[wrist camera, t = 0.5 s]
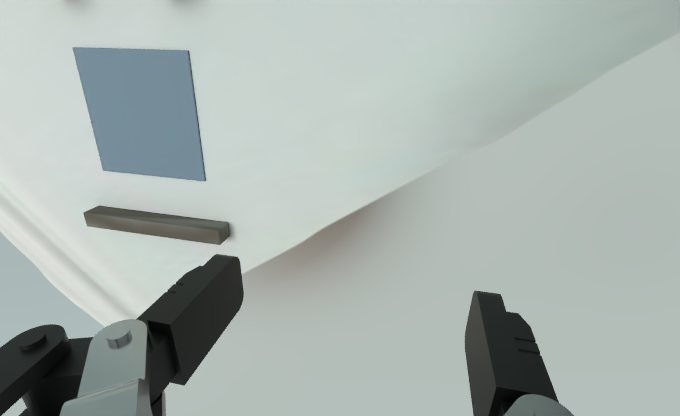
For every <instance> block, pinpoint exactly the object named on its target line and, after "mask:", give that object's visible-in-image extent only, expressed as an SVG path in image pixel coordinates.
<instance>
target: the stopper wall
mask: <svg viewBox="0 0 680 416" xmlns="http://www.w3.org/2000/svg"><path fill="white" fill-rule="evenodd" d="M84 217H85V220H86V224H87V226H90V227H97V228H104V229H111V230H118V231H125V232H132V233H139V234H146V235H153V236H160V237H168V238H175V239H182V240H189V241H196V242H203V243H210V244H217V245H220V244H221V243H222V242H224V241H225V240H226V239H227V238H228V237H229V236H230V235H229V226H228V222H221V221H213V220H205V219H197V218H190V217H182V216H174V215H166V214H158V213H150V212H143V211H135V210H127V209H119V208H111V207H103V206H97V207H95V208H93V209H91V210H89V211H86V212H84Z"/></svg>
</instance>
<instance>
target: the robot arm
mask: <svg viewBox="0 0 680 416" xmlns="http://www.w3.org/2000/svg"><path fill="white" fill-rule="evenodd" d="M243 294H244V293H243V284H242V276H241V267H240V261H239V259H238V257H234V256H227V255H219V254H216V255H214V256H213V257H212V258H211V259H210V260H209V261H208V262H207V263H206V264H205V265H204V266H199V267H197V268H195V269H193V270H191V271H189V272H188V273H186V274H185V275H184V276H183V277H182V278H180V279H179V280H178V281H177V282H176V285H175V284H174V285H173V286H172V287H171V288H170V289H169V290H168V292H165V293H164V294H163V295H162V296H161V297H160V298H159V299H158V300H157V301H156V302H155V303H153V304H152V305H151V306H150V307H149V308H148V309H147V310H146V311H145V312H144V313H143V314H142V315H140V316H139V317H138V318H137V319H136V320H135V319H129V320H123V321H119V322H116V323H113V324H111V325H109V326H107V327H105V328H104V329H102V330H101V331H99V332H98V333H97V334H96V335H95V336H94V337H91V338H77V339H68V337H67V335H66V332H65V330H64V328H63V327H61V326H59V325H43V326H39V327H36V328H33V329H30V330H27V331H25V332H23V333H21V334H19V335H17V336H16V337H14V338H13V339H11V340H10V341H9V342H7V343H6V344H5V345H3V346H2V347H1V348H0V416H1V415H2V414H3V413H5V412H6V411H7V410H8V409H9V408H10V407H11V406H12V405H13V404H14V403H16V402H17V401H18V400H19V399H20V398H21V397H22V399H23V400H24V402H25V405H26V407H27V409H25V410H24V411H23V413H21V414H20V415H19V416H166V408H165V407H166V406H165V393H164V389H165V388H166V387H167V385H168V384H169V383H170V382H171V383H176V384H180V385H185V384H186V383H187V381H188V380H189V378H190V377H191V376H192V374H193V373H194V371H195V370H196V369H197V367H198V366H199V365H200V363H201V362H202V360H203V359H204V358H205V356H206V355H207V354H208V352H209V351H210V349H211V348H212V347H213V345H214V344H215V343H216V341H217V340H218V338H219V337H220V335H221V334H222V333H223V331H224V330H225V329H226V327H227V326H228V324H229V323H230V322H231V320H232V319H233V318H234V316H235V315H236V313H237V312H238V311H239V309H240V307H241V305H242V301H243ZM465 352H466V359H467V367H468V375H469V382H470V391H471V398H472V406H473V414H474V416H574V415H573V414H572V413H571V412H570V411H569V410H568V409H567V408H565V407H564V406H563V405H561V404H560V403H559V402H558V400H557V397H556V394H555V391H554V389H553V386H552V383H551V381H550V378H549V375H548V373H547V370H546V367H545V365H544V362H543V359H542V357H541V356H540V351H539V349H538V346H537V344H536V343H535V338H534V335H533V333H532V330H531V327H530V326H529V325H528V324H527V323H526V321H525V320H524V319H523V318H522V317H521V316H520V315H519V314H518V313H511V312H506V309H505V306H504V303H503V300H502V297H501V295H500V294H496V293H488V292H480V291H474V293H473V297H472V302H471V307H470V311H469V316H468V321H467V326H466V332H465Z"/></svg>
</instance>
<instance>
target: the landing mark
mask: <svg viewBox="0 0 680 416" xmlns="http://www.w3.org/2000/svg"><path fill="white" fill-rule="evenodd" d="M73 51H74V55H75V59H76V63H77V67H78V71H79V75H80V79H81V83H82V87H83V91H84V95H85V99H86V103H87V107H88V111H89V115H90V119H91V124H92V128H93V132H94V136H95V140H96V144H97V148H98V152H99V156H100V160H101V164H102V168H103V171H112V172H121V173H131V174H140V175H150V176H159V177H169V178H178V179H188V180H197V181H206V180H205V172H204V164H203V157H202V149H201V142H200V134H199V126H198V119H197V111H196V104H195V96H194V88H193V81H192V73H191V65H190V58H189V51H180V50H145V49H111V48H76V47H73Z"/></svg>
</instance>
